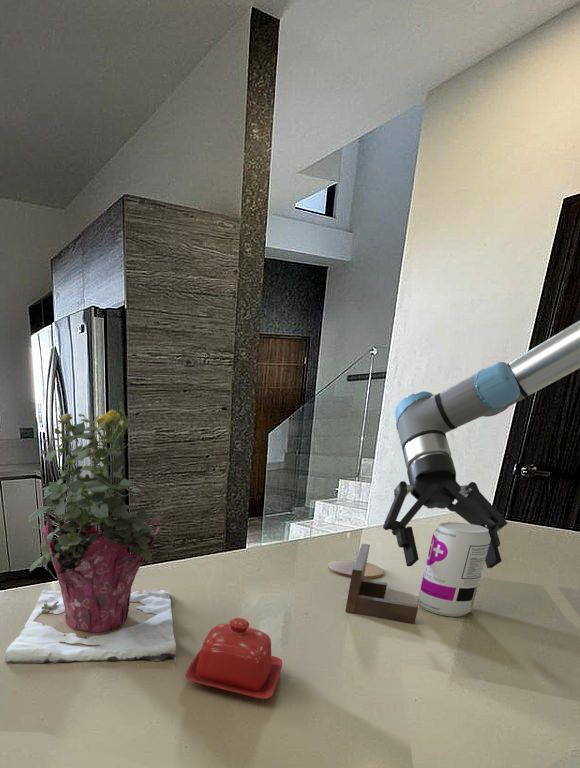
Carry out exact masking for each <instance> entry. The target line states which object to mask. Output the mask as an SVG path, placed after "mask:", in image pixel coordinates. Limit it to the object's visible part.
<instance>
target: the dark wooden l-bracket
mask: <svg viewBox="0 0 580 768" xmlns="http://www.w3.org/2000/svg"><path fill="white" fill-rule="evenodd" d="M370 548H371V544H368V543H361V546H360V548H359V551H358V553H357V556H356V559H355V564H354V567H353V570H352V576H351V577H350V582H349V587H348V592H347V593H348V594H347V599H346V605H345V611H344V612H345V613H348V614H349V613H351V614H358V615H363V616H370V617H374V618H375V617H376V618H379V619H385V620H391V621H395V622H402V623H407V624H412V625H414V624H415V623H416V619H417V615H418V610H419V604H417V603H410V602H404V601H398V600H394V599H393V600H392V599H388V598H387V599H386V598H385V596H386V593H387V587H388V582H385V581H378V580H372V579H364V575H365V569H366V564H367V563H368V559H369V552H370Z"/></svg>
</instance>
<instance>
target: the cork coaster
mask: <svg viewBox="0 0 580 768" xmlns="http://www.w3.org/2000/svg"><path fill="white" fill-rule="evenodd" d="M355 561H356V559H355V560H354V559H338V560H333V561H331V562H329V563H328V566H327V569H328V570H329V571H330V572H332V573H334V574H336V575H339V576H342V577H346V578H351V576H352V570H353V567H354V564H355ZM383 574H384V570H383V568H381V567H380V566H378V565H376V564H374V563H370V562H367V564H366V569H365V575H364V579H366V580H372V579H377V578H380V577H381V576H382V577H383Z"/></svg>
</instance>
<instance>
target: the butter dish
mask: <svg viewBox="0 0 580 768" xmlns="http://www.w3.org/2000/svg"><path fill="white" fill-rule="evenodd" d="M282 666H283V661H282V659H281V658H280V657H278V656H276V655H272V641H271V637H270V636H269V634H268V633H265V632H264V631H262V630H259V629H257V628H254V627H251V626H250V622H249V621H248V620H247V619H245V618H242V617H234V618H231V619H230V620H229V623H220V624H217V625H214V627H213V628H211V630H210V631H209V632H208V633H207V635H206V637H205V639H204V640H203V643H202V647H201V648H200V650H199V651H198V652H197V654H195V657H194V658H193V659H192V661H191V663H190V665H189V666H188V668H187V670H186V671H185V673H184V678H185V679H186V680H187V681H190V682H192V683H195V684H199V685H204V686H207V687H211V688H216V689H221V690H224V691H227V692H228V691H229V692H232V693H235V694H240V695H244V696H247V697H252V698H255V699H262V700H268V699H271V698H272V697H273V696H274V693H275V690H276V688H277V684H278V682H279V678H280V674H281V671H282Z"/></svg>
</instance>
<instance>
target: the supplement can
mask: <svg viewBox="0 0 580 768" xmlns="http://www.w3.org/2000/svg"><path fill="white" fill-rule="evenodd" d="M488 530H489V529H487V528H485V527H482V526H478V525H474V524H470V523H468V522H457V521H455V522H453V521H452V522H451V521H448V522H441V523H440V524H439V525H438V526H437V528H436V529H435V530H434V531H433V533H432V536H431V541H430V544H429V545H430V546H429V550H428V553H427V558H426V563H425V567H424V570H423V571H424V572H423V576H422V580H421V584H420V589H419V593H418V598H417V602H418V605H420V606H421V608H422V609H424V610H425V611H428V612H430V613H432V614H436V615H439V616H446V617H464V616H465V615H467V614H469V613H471V612H472V609H473V605H474V602H475V598H476V595H477V590H478V587H479V583H480V580H481V577H482V572H483V570H484V565H485V563H486V562H485V559H486V555H487V551H488V548H489V544H490V541H491V538H490V535H489V532H488Z"/></svg>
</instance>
